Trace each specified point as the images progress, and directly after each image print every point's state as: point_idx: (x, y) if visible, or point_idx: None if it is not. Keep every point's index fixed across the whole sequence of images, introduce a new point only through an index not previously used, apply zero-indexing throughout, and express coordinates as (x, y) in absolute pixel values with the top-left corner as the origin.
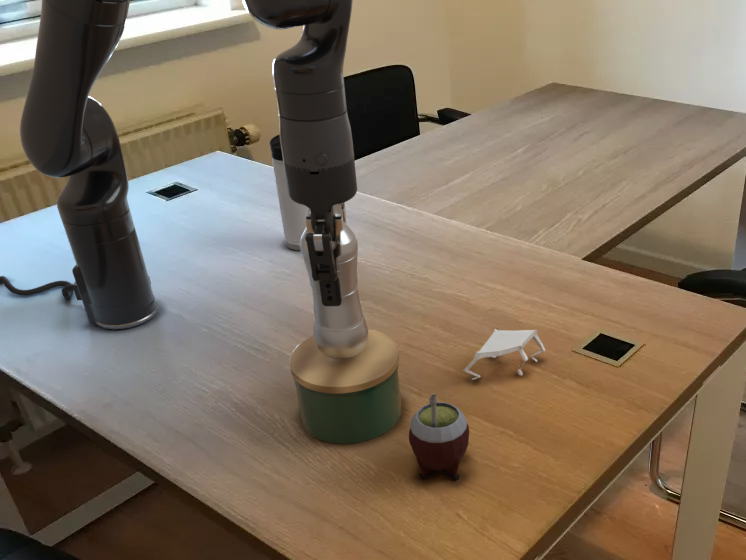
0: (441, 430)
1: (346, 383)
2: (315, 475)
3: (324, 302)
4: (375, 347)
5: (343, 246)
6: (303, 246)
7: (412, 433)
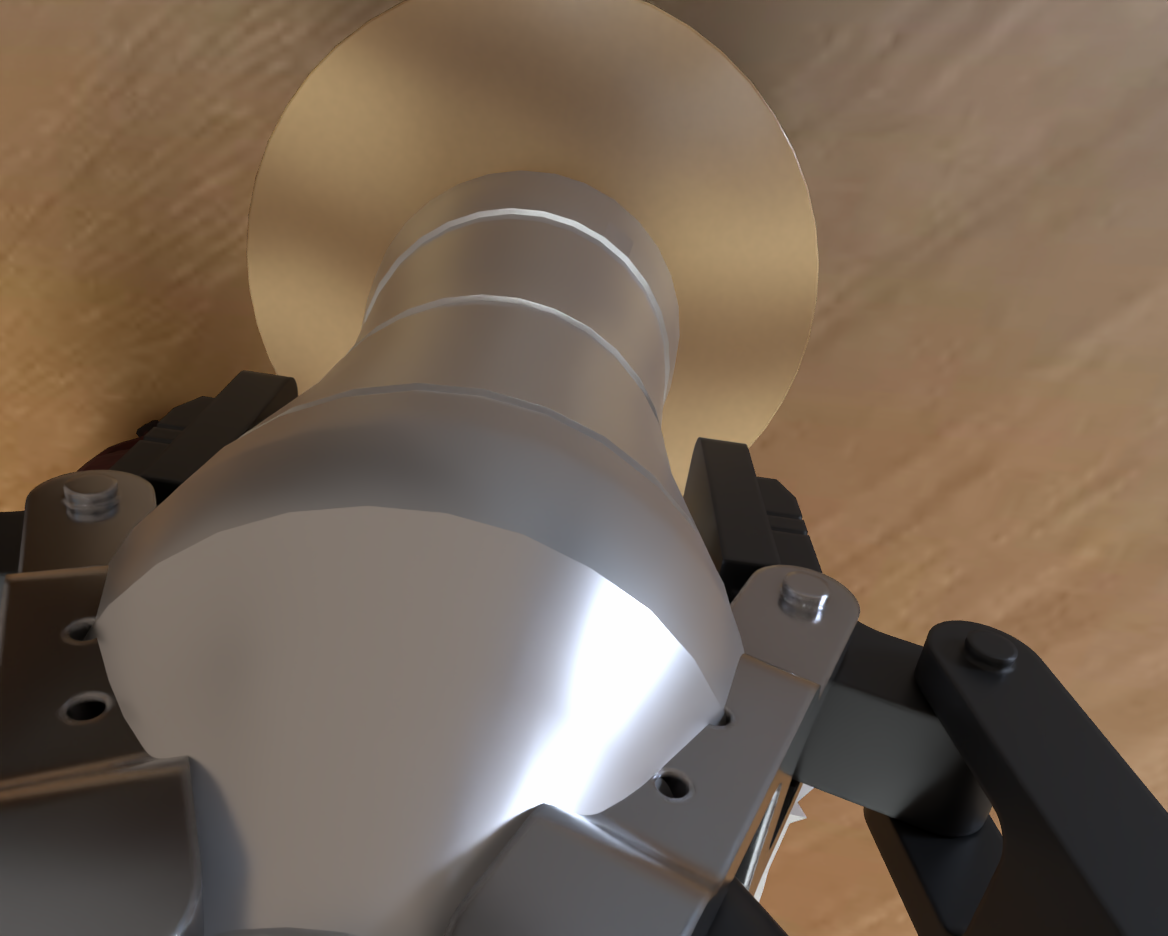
0: None
1: (274, 293)
2: (167, 53)
3: (186, 403)
4: None
5: None
6: (208, 508)
7: None
